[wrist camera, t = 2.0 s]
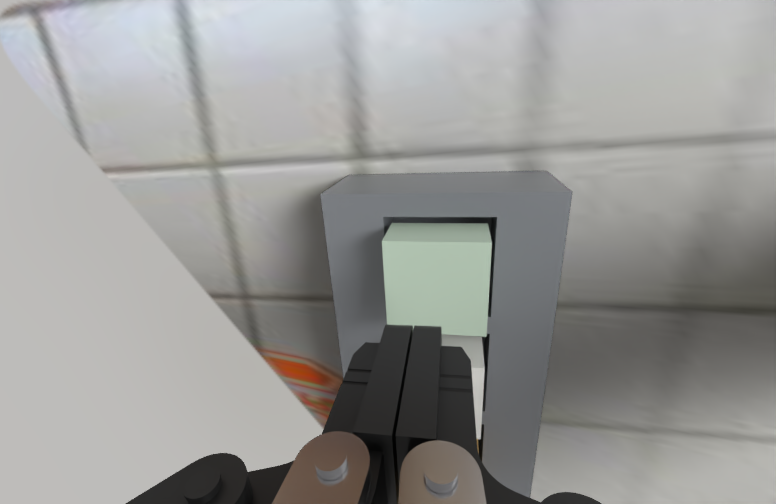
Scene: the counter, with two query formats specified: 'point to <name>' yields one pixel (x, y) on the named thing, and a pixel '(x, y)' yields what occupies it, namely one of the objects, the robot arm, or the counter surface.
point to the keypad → (506, 291)
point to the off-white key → (475, 353)
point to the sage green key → (438, 276)
